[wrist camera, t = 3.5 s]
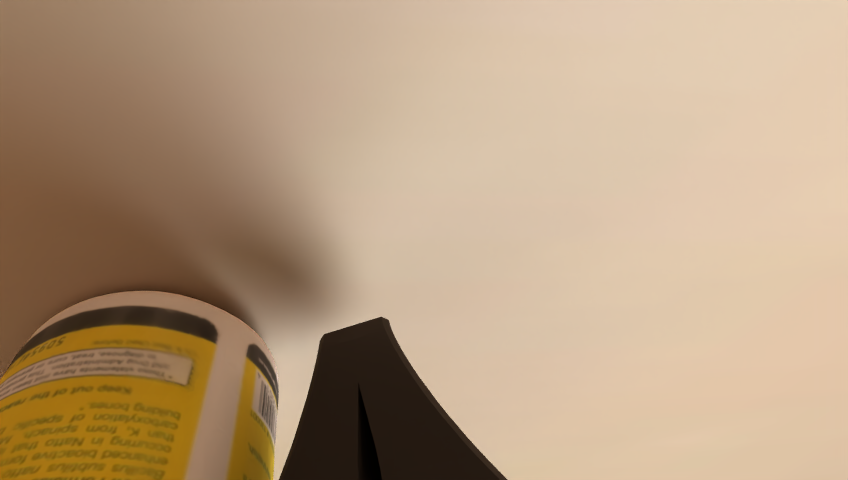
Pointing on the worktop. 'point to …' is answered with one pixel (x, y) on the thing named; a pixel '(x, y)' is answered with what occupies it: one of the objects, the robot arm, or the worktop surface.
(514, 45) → the worktop surface
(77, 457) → the supplement bottle
